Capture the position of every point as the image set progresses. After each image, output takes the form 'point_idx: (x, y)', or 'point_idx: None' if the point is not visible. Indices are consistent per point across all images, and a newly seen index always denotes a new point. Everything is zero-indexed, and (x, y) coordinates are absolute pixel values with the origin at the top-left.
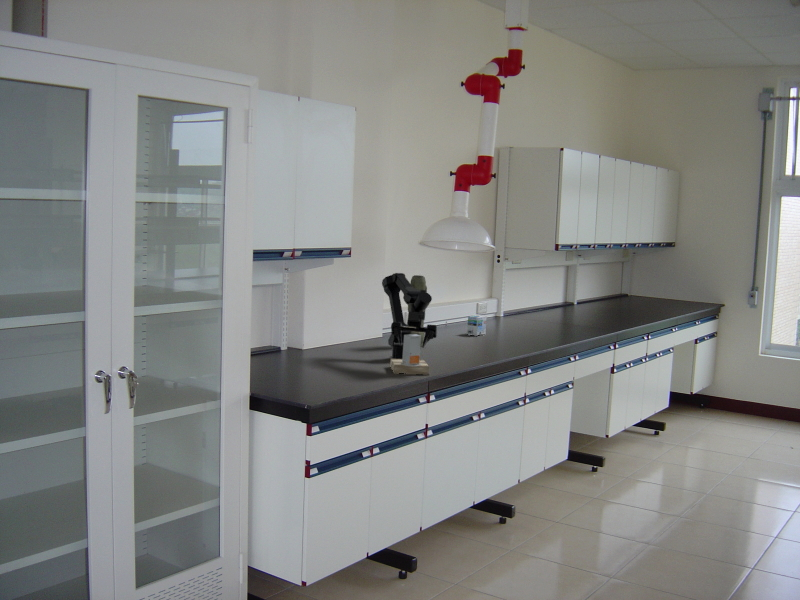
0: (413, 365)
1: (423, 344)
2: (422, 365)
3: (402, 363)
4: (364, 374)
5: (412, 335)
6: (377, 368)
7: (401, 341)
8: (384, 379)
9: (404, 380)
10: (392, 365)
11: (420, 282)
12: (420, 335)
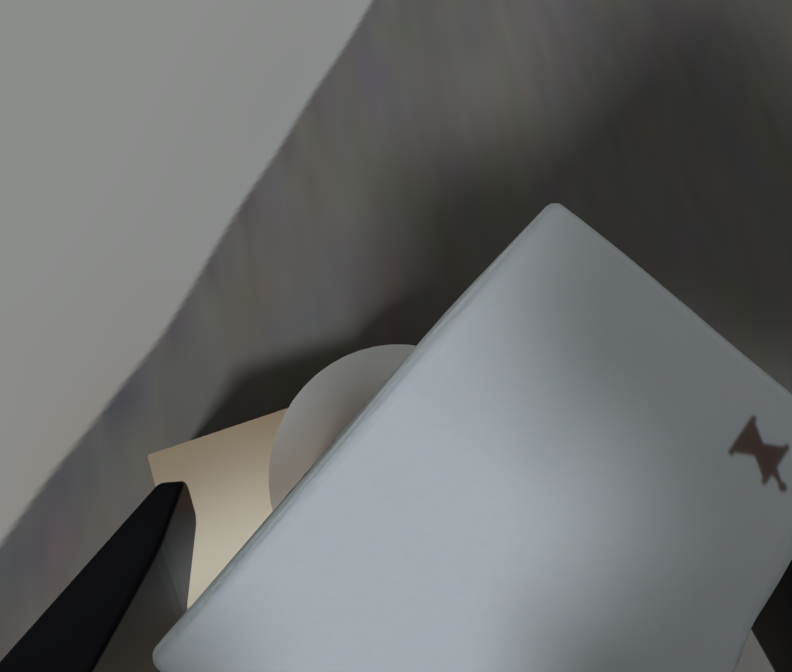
0: (352, 387)
1: (148, 517)
2: (242, 468)
3: None
4: (757, 206)
5: (519, 392)
6: None
7: (772, 624)
8: (547, 83)
9: (380, 106)
10: None
11: None
12: (190, 653)
